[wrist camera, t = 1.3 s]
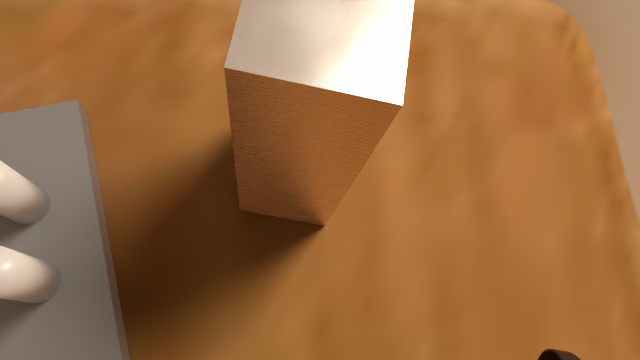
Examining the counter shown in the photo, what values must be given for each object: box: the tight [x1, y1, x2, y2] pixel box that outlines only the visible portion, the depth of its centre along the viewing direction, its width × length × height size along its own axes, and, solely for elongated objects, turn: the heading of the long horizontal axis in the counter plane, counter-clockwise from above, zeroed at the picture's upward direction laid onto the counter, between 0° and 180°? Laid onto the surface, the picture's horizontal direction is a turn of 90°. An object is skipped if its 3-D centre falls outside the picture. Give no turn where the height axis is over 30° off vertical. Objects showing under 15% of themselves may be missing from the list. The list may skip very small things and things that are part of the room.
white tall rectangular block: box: [224, 0, 414, 226], centre depth 17 cm, size 5×4×12 cm
